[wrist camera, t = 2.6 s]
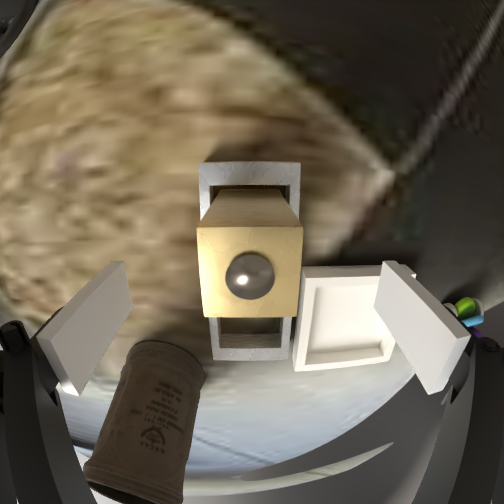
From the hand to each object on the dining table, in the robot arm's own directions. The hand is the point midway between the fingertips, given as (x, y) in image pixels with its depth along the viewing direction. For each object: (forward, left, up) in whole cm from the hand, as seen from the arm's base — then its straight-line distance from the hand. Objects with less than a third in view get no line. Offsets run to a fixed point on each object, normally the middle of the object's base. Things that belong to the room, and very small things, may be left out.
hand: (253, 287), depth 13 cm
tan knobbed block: (0, 0, -13) cm, 13 cm away
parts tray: (+11, +11, -13) cm, 20 cm away
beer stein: (+22, -12, -13) cm, 28 cm away
